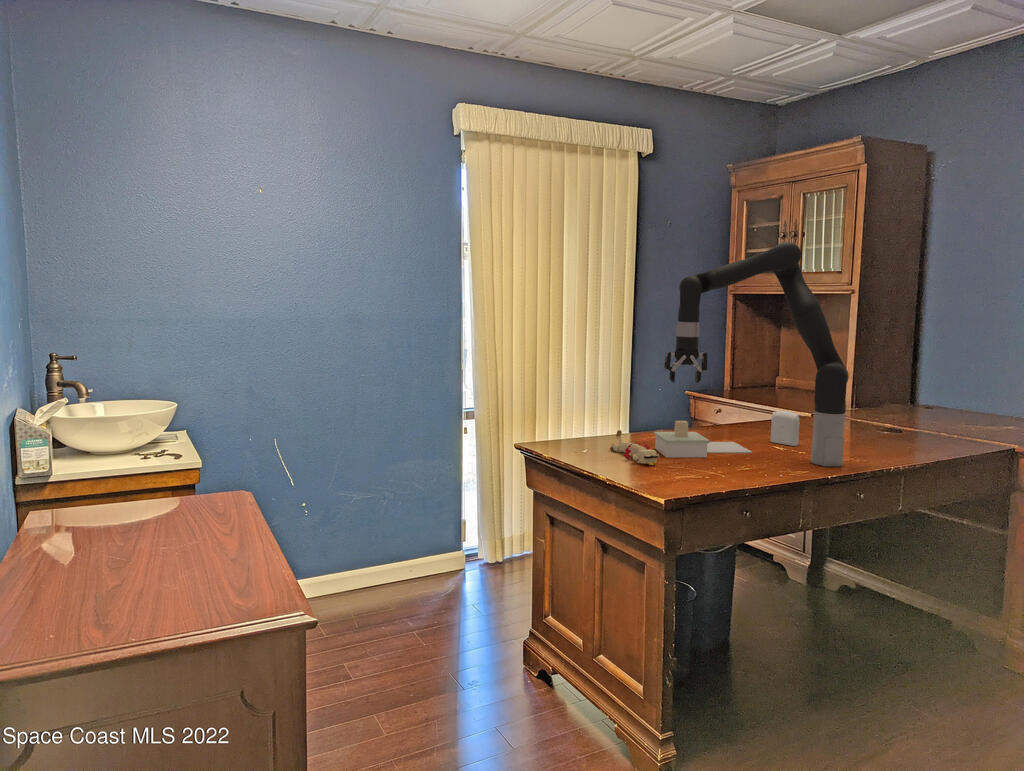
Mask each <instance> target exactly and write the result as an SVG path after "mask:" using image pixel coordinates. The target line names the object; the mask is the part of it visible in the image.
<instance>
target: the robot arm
mask: <svg viewBox="0 0 1024 771" xmlns="http://www.w3.org/2000/svg"><path fill="white" fill-rule="evenodd" d="M801 250H802V249H801V248H800V247H799V246H798V245H797V244H796V243H794V242H791V241H785V242H781V243H779V244H777V245H775V246H773V247H771V248H769V249H766V250H765V251H762V252H760V253H758V254H755V255H753V256H750V257H748V258H745V259H740V260H738V261H734V262H731V263H728V264H724V265H721V266H717V267H715V268H712V269H711V268H710V269H709V270H707V271H705V272H700V273H697V274H694V275H689V276H686V277H684V278H683V279H682V280H681V281H680V283H679V287H678V288H679V306H678V311H677V312H678V314H677V325H676V330H675V331H676V332H675V350H674V352H672V351H666V352H665V360H664V369H666V370H668V371H669V378H668V379H669V381H670V382H671V383H675V380H676V370H677V368H678V367H679V366H680V365H682V366H686V365H689V366H693V367H694V368H695V378H694V382H695V383H698V384H699V383H700V382H701V380H702V372H703V371H707V370H708V353H707V352H705V351H703V352H699V343H700V342H699V340H700V304H701V297H702V294H704V293H707V292H710V291H714V290H719V289H723V288H726V287H728V286H732V285H736V284H739V283H740V282H742V281H744V280H748V279H749V278H752V277H754V276H757V275H758V276H759V275H761V274H764V273H767V272H768V273H769V272H772V271H773V273H774V275H775V277H776V278H777V281H778V282H779V284H780V286H781V288H782V290H783V293H784V297H785V301H786V303H787V304H786V305H787V307H788V309H789V312H790V315H791V319H792V320H793V323H794V325H795V328H796V330H797V332H798V334H799V336H800V337H801V339H802V340H803V342H804V344H805V346H807V348H808V349H809V352H810V353H811V355H812V358H813V361H814V364H815V367H816V370H817V372H816V374H815V383H814V398H813V399H814V400H813V401H814V410H813V412H814V413H813V426H812V442H811V453H810V454H811V456H810V462H811V463H812V464H814V465H818V466H822V467H843V458H844V446H845V438H844V433H845V422H846V421H845V419H846V408H847V405H846V403H847V399H846V398H847V396H846V395H847V384H848V381H849V378H850V377H849V371H848V369H847V367H846V366H845V364H844V362H843V361H842V359H841V356H840V355H839V353H838V351H837V349H836V346H835V344H834V342H833V338H832V335H831V332H830V328H829V324H828V322H827V319H826V316H825V314H824V311H823V309H822V307H821V306H822V305H821V304H820V302H819V301H818V298H817V297H816V296H815V294H814V293H813V291H812V290H811V289H810V287H809V285H807V283H806V281H805V278H804V276H803V273H802V270H801V267H800V262H801V258H802V251H801ZM673 357H674V358H675V360H674V361H673V363H672V364H671V361H672V359H673ZM698 358H699V359H700V360H701V366H700V364H699V363H698V361H697V360H698Z"/></svg>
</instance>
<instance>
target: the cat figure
mask: <svg viewBox="0 0 1024 771" xmlns="http://www.w3.org/2000/svg"><path fill="white" fill-rule="evenodd" d="M622 432H623V431H622V430H621V429H619V430H617V431H616V434H615V435H616V439H617V440H618V443H617V444H615V443H611V444H610V446H611V447H609V451H611V452H620V453H623V457H625V459H626V460H627V461H630V457H629V456H630V454H632V460H634V461H636V464H637V463H638V464H642V465H643V464H644V465H645V464H646V465H649V466H654V465H655V463H657V461H658V458H660V454H658V452H657V450H656V449H655V450H654V449H651V448H650V446H648V444H646V443H644V442H642V445H644V446H641V445H640V444H637V443H632V442H627V441H626V442H625V441H623V439H622V437H621V435H622Z"/></svg>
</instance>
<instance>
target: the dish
mask: <svg viewBox="0 0 1024 771" xmlns="http://www.w3.org/2000/svg"><path fill="white" fill-rule="evenodd" d="M707 444H708V443H665V442H663V441H662V440H661V439H659V438H658V437H657V436H655V445H654V446H655V451H658V453H660V454H661V455H662V456H663V457H664V458H668V459H669V458H675V459H677V458H708V453H707Z"/></svg>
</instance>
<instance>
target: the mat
mask: <svg viewBox="0 0 1024 771" xmlns="http://www.w3.org/2000/svg"><path fill="white" fill-rule="evenodd" d="M707 454H753V451H752V450H749V449H748V448H746V447H745V446H742V445H740V444H739V443H737V442H735V441H710V443H708V444H707Z"/></svg>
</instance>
